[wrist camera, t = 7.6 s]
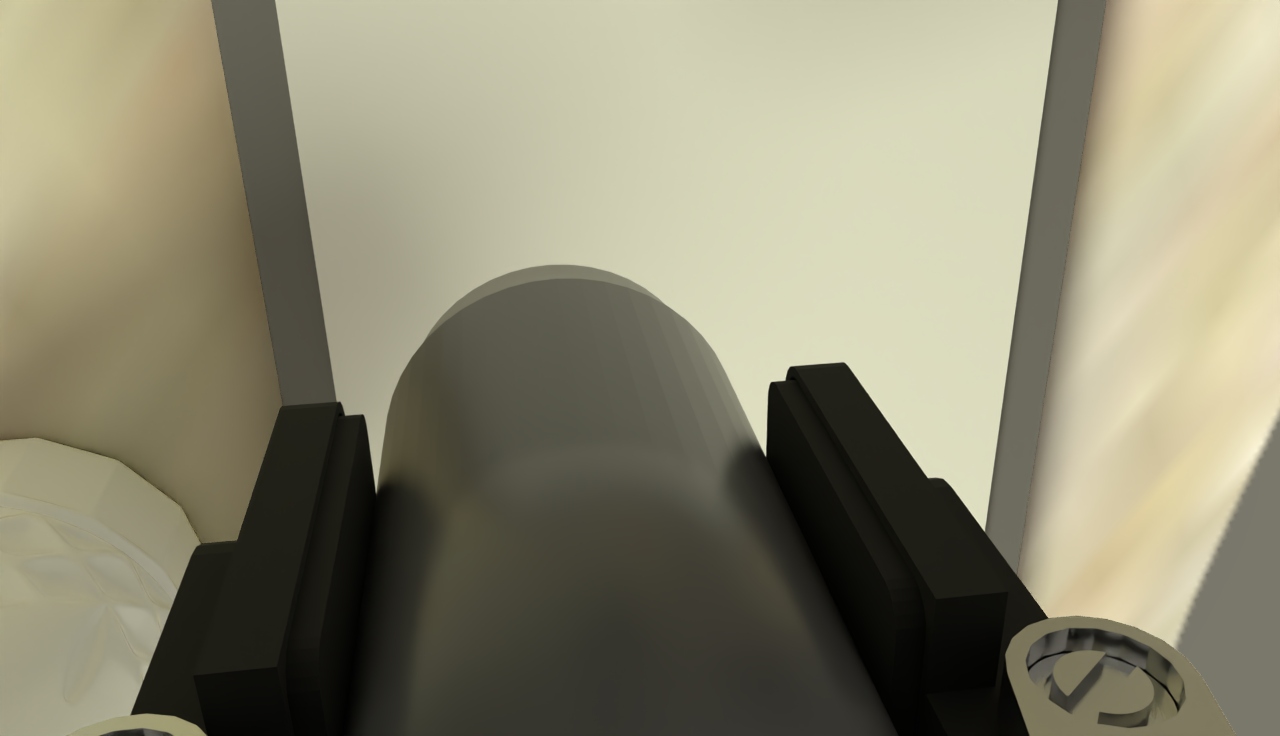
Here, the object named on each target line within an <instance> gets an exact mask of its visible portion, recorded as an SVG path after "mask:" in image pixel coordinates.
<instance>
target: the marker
mask: <svg viewBox="0 0 1280 736" xmlns="http://www.w3.org/2000/svg"><path fill="white" fill-rule="evenodd" d="M343 736H898V734H897V731H896V729H895V727H894V725H893V723H892V721H891V719H890V717H889V715H888V713H887V710H886V708H885V706H884V704H883V702H882V700H881V698H880V696H879V694H878V692H877V689H876V687H875V685H874V683H873V681H872V679H871V677H870V675H869V673H868V671H867V668H866V666H865V664H864V662H863V660H862V658H861V656H860V654H859V652H858V649H857V647H856V645H855V643H854V641H853V639H852V637H851V635H850V633H849V631H848V628H847V626H846V624H845V622H844V620H843V618H842V616H841V614H840V612H839V610H838V607H837V605H836V603H835V601H834V599H833V597H832V595H831V593H830V591H829V589H828V586H827V584H826V582H825V580H824V578H823V576H822V574H821V572H820V570H819V568H818V565H817V563H816V561H815V559H814V557H813V555H812V553H811V551H810V549H809V547H808V544H807V542H806V540H805V538H804V536H803V534H802V532H801V530H800V528H799V525H798V523H797V521H796V519H795V517H794V515H793V513H792V511H791V509H790V507H789V504H788V502H787V500H786V498H785V496H784V494H783V492H782V490H781V488H780V486H779V483H778V481H777V479H776V477H775V475H774V473H773V471H772V469H771V467H770V465H769V462H768V460H767V458H766V456H765V454H764V452H763V450H762V448H761V446H760V444H759V441H758V439H757V437H756V435H755V433H754V431H753V429H752V427H751V425H750V423H749V420H748V418H747V416H746V414H745V412H744V410H743V408H742V406H741V404H740V402H739V399H738V397H737V395H736V393H735V391H734V389H733V387H732V385H731V383H730V380H729V378H728V376H727V374H726V372H725V370H724V368H723V366H722V365H721V363H720V361H719V359H718V357H717V355H716V354H715V352H714V351H713V349H712V348H711V347H710V345H709V344H708V343H707V341H706V340H705V339H704V337H703V336H702V335H701V334H700V333H699V332H698V331H697V330H696V329H695V328H694V327H693V326H692V325H691V324H690V323H689V322H688V321H687V320H686V319H685V318H683V317H682V316H680V315H679V314H678V313H676V312H675V311H674V310H672V309H671V308H670V307H668V306H667V305H665V304H664V303H663V302H662V301H661V300H660V299H659V298H657V297H656V296H655V295H653V294H652V293H651V292H649V291H648V290H647V289H645V288H644V287H642V286H640V285H638V284H636V283H635V282H633V281H631V280H629V279H627V278H624V277H622V276H619V275H617V274H614V273H612V272H609V271H605V270H601V269H597V268H593V267H587V266H578V265H544V266H536V267H529V268H525V269H521V270H517V271H513V272H510V273H507V274H505V275H502V276H499V277H497V278H494V279H492V280H490V281H488V282H486V283H484V284H482V285H481V286H479V287H477V288H475V289H473V290H472V291H471V292H469V293H468V294H466V295H465V296H464V297H462V298H461V299H460V300H458V301H457V302H456V303H455V304H454V305H453V306H452V307H451V308H449V309H448V310H447V311H446V312H445V313H444V314H443V315H442V316H441V318H440V319H439V320H438V321H437V323H436V324H435V325H434V326H433V328H432V329H431V330H430V332H429V334H428V335H427V337H426V339H425V340H424V342H423V344H422V345H421V346H420V347H419V349H418V350H417V351H416V352H415V354H414V355H413V356H412V357H411V359H410V361H409V362H408V364H407V366H406V368H405V369H404V371H403V373H402V374H401V376H400V378H399V381H398V383H397V386H396V388H395V390H394V393H393V395H392V399H391V402H390V406H389V410H388V414H387V420H386V427H385V434H384V441H383V448H382V455H381V463H380V470H379V477H378V484H377V491H376V501H375V508H374V516H373V523H372V530H371V537H370V544H369V552H368V559H367V566H366V573H365V580H364V588H363V595H362V602H361V609H360V616H359V624H358V631H357V638H356V645H355V652H354V660H353V667H352V674H351V681H350V688H349V696H348V703H347V710H346V717H345V724H344V732H343Z"/></svg>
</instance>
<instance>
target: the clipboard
mask: <svg viewBox="0 0 1280 736" xmlns="http://www.w3.org/2000/svg"><path fill="white" fill-rule="evenodd" d="M211 1H212V7H213V13H214V18H215V24H216V30H217V35H218V41H219V47H220V52H221V58H222V64H223V69H224V75H225V80H226V86H227V92H228V97H229V103H230V109H231V114H232V120H233V126H234V131H235V137H236V143H237V148H238V154H239V159H240V165H241V171H242V176H243V182H244V188H245V193H246V199H247V205H248V210H249V216H250V221H251V227H252V233H253V238H254V244H255V250H256V255H257V261H258V267H259V272H260V278H261V284H262V289H263V295H264V300H265V306H266V312H267V317H268V323H269V329H270V334H271V340H272V346H273V351H274V357H275V363H276V368H277V374H278V379H279V385H280V391H281V396H282V402H283V406H287V405H300V404H313V403H326V402H341V404H342V406H343V409H344V413H345V416H346V415H359V414H363V415H364V417H365V420H366V425H367V431H368V438H369V445H370V453H371V460H372V467H373V474H374V482H375V489H376V491H377V484H378V477H379V470H380V463H381V455H382V448H383V441H384V434H385V427H386V420H387V414H388V410H389V406H390V402H391V399H392V395H393V393H394V390H395V388H396V386H397V383H398V381H399V378H400V376H401V374H402V373H403V371H404V369H405V368H406V366H407V364H408V362H409V361H410V359H411V357H412V356H413V355H414V354H415V352H416V351H417V350H418V349H419V347H420V346H421V345H422V344H423V342H424V340H425V339H426V337H427V335H428V334H429V332H430V330H431V329H432V328H433V326H434V325H435V324H436V323H437V321H438V320H439V319H440V318H441V316H442V315H443V314H444V313H445V312H446V311H447V310H448V309H449V308H451V307H452V306H453V305H454V304H455V303H456V302H457V301H458V300H460V299H461V298H462V297H464V296H465V295H466V294H468V293H469V292H471V291H472V290H473V289H475V288H477V287H479V286H481V285H482V284H484V283H486V282H488V281H490V280H492V279H494V278H497V277H499V276H502V275H505V274H507V273H510V272H513V271H517V270H521V269H525V268H529V267H536V266H544V265H578V266H587V267H593V268H597V269H601V270H605V271H609V272H612V273H614V274H617V275H619V276H622V277H624V278H627V279H629V280H631V281H633V282H635V283H636V284H638V285H640V286H642V287H644V288H645V289H647V290H648V291H649V292H651V293H652V294H653V295H655V296H656V297H657V298H659V299H660V300H661V301H662V302H663V303H664V304H665V305H667V306H668V307H670V308H671V309H672V310H674V311H675V312H676V313H678V314H679V315H680V316H682V317H683V318H685V319H686V320H687V321H688V322H689V323H690V324H691V325H692V326H693V327H694V328H695V329H696V330H697V331H698V332H699V333H700V334H701V335H702V336H703V337H704V339H705V340H706V341H707V343H708V344H709V345H710V347H711V348H712V349H713V351H714V352H715V354H716V355H717V357H718V359H719V361H720V363H721V365H722V366H723V368H724V370H725V372H726V374H727V376H728V378H729V380H730V383H731V385H732V387H733V389H734V391H735V393H736V395H737V397H738V399H739V402H740V404H741V406H742V408H743V410H744V412H745V414H746V416H747V418H748V420H749V423H750V425H751V427H752V429H753V431H754V433H755V435H756V437H757V439H758V441H759V444H760V446H761V448H762V450H763V452H764V454H765V456H766V439H767V405H768V390H769V385H770V383H771V382H775V381H785V379H786V375H787V371H788V369H789V367H791V366H801V365H814V364H827V363H840V362H845V363H846V364H847V365H848V366H849V368H850V369H851V371H852V372H853V373H854V375H855V376H856V378H857V379H858V380H859V382H860V383H861V385H862V386H863V387H864V389H865V390H866V392H867V393H868V394H869V396H870V397H871V399H872V400H873V402H874V403H875V404H876V406H877V407H878V409H879V410H880V411H881V413H882V414H883V416H884V417H885V418H886V420H887V421H888V423H889V424H890V425H891V427H892V428H893V430H894V431H895V433H896V434H897V435H898V437H899V438H900V440H901V441H902V442H903V444H904V445H905V447H906V448H907V449H908V451H909V452H910V454H911V455H912V456H913V458H914V459H915V461H916V462H917V463H918V465H919V466H920V468H921V469H922V471H923V472H924V473H925V475H926V476H927V478H935V477H936V478H942V479H944V480H945V481H946V482H947V483H948V484H949V485H950V486H951V487H952V488H953V489H954V491H955V492H956V494H957V495H958V496H959V498H960V499H961V500H962V502H963V503H964V504H965V506H966V507H967V508H968V510H969V511H970V513H971V514H972V515H973V517H974V518H975V519H976V521H977V522H978V523H979V525H980V526H981V527H982V529H983V530H984V532H985V533H986V534H987V536H988V537H989V538H990V540H991V541H992V542H993V544H994V545H995V546H996V548H997V549H998V551H999V552H1000V553H1001V555H1002V556H1003V557H1004V559H1005V560H1006V561H1007V563H1008V564H1009V565H1010V567H1011V568H1012V570H1013V571H1014V572H1015V574H1016V575H1017V570H1018V564H1019V558H1020V551H1021V545H1022V538H1023V532H1024V526H1025V519H1026V513H1027V506H1028V500H1029V493H1030V487H1031V481H1032V474H1033V468H1034V461H1035V455H1036V449H1037V442H1038V436H1039V429H1040V423H1041V417H1042V410H1043V404H1044V397H1045V391H1046V384H1047V378H1048V372H1049V365H1050V359H1051V352H1052V346H1053V340H1054V333H1055V327H1056V320H1057V314H1058V307H1059V301H1060V295H1061V288H1062V282H1063V275H1064V269H1065V263H1066V256H1067V250H1068V243H1069V237H1070V231H1071V224H1072V218H1073V211H1074V205H1075V198H1076V192H1077V186H1078V179H1079V173H1080V166H1081V160H1082V154H1083V147H1084V141H1085V134H1086V128H1087V121H1088V115H1089V109H1090V102H1091V96H1092V89H1093V83H1094V77H1095V70H1096V64H1097V57H1098V51H1099V45H1100V38H1101V32H1102V25H1103V19H1104V12H1105V6H1106V0H211Z"/></svg>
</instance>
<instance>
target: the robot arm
mask: <svg viewBox="0 0 1280 736" xmlns="http://www.w3.org/2000/svg"><path fill="white" fill-rule="evenodd" d="M766 458H767V460H768V462H769V465H770V467H771V469H772V471H773V473H774V475H775V477H776V479H777V481H778V483H779V486H780V488H781V490H782V492H783V494H784V496H785V498H786V500H787V502H788V504H789V507H790V509H791V511H792V513H793V515H794V517H795V519H796V521H797V523H798V525H799V528H800V530H801V532H802V534H803V536H804V538H805V540H806V542H807V544H808V547H809V549H810V551H811V553H812V555H813V557H814V559H815V561H816V563H817V565H818V568H819V570H820V572H821V574H822V576H823V578H824V580H825V582H826V584H827V586H828V589H829V591H830V593H831V595H832V597H833V599H834V601H835V603H836V605H837V607H838V610H839V612H840V614H841V616H842V618H843V620H844V622H845V624H846V626H847V628H848V631H849V633H850V635H851V637H852V639H853V641H854V643H855V645H856V647H857V649H858V652H859V654H860V656H861V658H862V660H863V662H864V664H865V666H866V668H867V671H868V673H869V675H870V677H871V679H872V681H873V683H874V685H875V687H876V689H877V692H878V694H879V696H880V698H881V700H882V702H883V704H884V706H885V708H886V710H887V713H888V715H889V717H890V719H891V721H892V723H893V725H894V727H895V729H896V731H897V734H898V736H1236V734H1235V732H1234V731H1233V729H1232V727H1231V726H1230V724H1229V722H1228V720H1227V719H1226V717H1225V715H1224V714H1223V712H1222V710H1221V708H1220V707H1219V705H1218V703H1217V702H1216V700H1215V698H1214V697H1213V695H1212V693H1211V691H1210V690H1209V688H1208V686H1207V685H1206V683H1205V681H1204V679H1203V678H1202V676H1201V675H1200V674H1199V672H1198V671H1197V670H1196V669H1195V668H1194V666H1193V665H1192V664H1191V663H1190V661H1189V660H1188V659H1187V658H1186V657H1185V656H1184V655H1182V654H1181V653H1180V652H1178V651H1177V650H1176V649H1174V648H1173V647H1171V646H1170V645H1169V644H1167V643H1166V642H1165V641H1163V640H1161V639H1159V638H1157V637H1155V636H1153V635H1151V634H1149V633H1147V632H1145V631H1142V630H1140V629H1138V628H1136V627H1133V626H1129V625H1126V624H1122V623H1119V622H1115V621H1112V620H1108V619H1103V618H1093V617H1084V616H1068V617H1056V618H1048V617H1047V616H1046V614H1045V613H1044V612H1043V610H1042V609H1041V608H1040V606H1039V605H1038V603H1037V602H1036V601H1035V599H1034V598H1033V597H1032V595H1031V594H1030V593H1029V591H1028V590H1027V589H1026V587H1025V586H1024V584H1023V583H1022V582H1021V580H1020V579H1019V578H1018V576H1017V575H1016V574H1015V572H1014V571H1013V570H1012V568H1011V567H1010V565H1009V564H1008V563H1007V561H1006V560H1005V559H1004V557H1003V556H1002V555H1001V553H1000V552H999V551H998V549H997V548H996V546H995V545H994V544H993V542H992V541H991V540H990V538H989V537H988V536H987V534H986V533H985V532H984V530H983V529H982V527H981V526H980V525H979V523H978V522H977V521H976V519H975V518H974V517H973V515H972V514H971V513H970V511H969V510H968V508H967V507H966V506H965V504H964V503H963V502H962V500H961V499H960V498H959V496H958V495H957V494H956V492H955V491H954V489H953V488H952V487H951V486H950V485H949V484H948V483H947V482H946V481H945V480H944V479H942V478H936V477H935V478H927V476H926V475H925V473H924V472H923V471H922V469H921V468H920V466H919V465H918V463H917V462H916V461H915V459H914V458H913V456H912V455H911V454H910V452H909V451H908V449H907V448H906V447H905V445H904V444H903V442H902V441H901V440H900V438H899V437H898V435H897V434H896V433H895V431H894V430H893V428H892V427H891V425H890V424H889V423H888V421H887V420H886V418H885V417H884V416H883V414H882V413H881V411H880V410H879V409H878V407H877V406H876V404H875V403H874V402H873V400H872V399H871V397H870V396H869V394H868V393H867V392H866V390H865V389H864V387H863V386H862V385H861V383H860V382H859V380H858V379H857V378H856V376H855V375H854V373H853V372H852V371H851V369H850V368H849V366H848V365H847V364H846V363H845V362H840V363H827V364H814V365H801V366H791V367H789V369H788V371H787V375H786V379H785V381H775V382H771V383H770V385H769V390H768V405H767V439H766ZM375 501H376V489H375V482H374V474H373V467H372V460H371V453H370V445H369V438H368V431H367V425H366V420H365V417H364V415H363V414H359V415H346V416H345V413H344V409H343V406H342V404H341V402H326V403H313V404H300V405H287V406H282V407H281V409H280V411H279V414H278V417H277V420H276V423H275V426H274V429H273V432H272V435H271V438H270V441H269V444H268V447H267V451H266V454H265V457H264V460H263V463H262V466H261V469H260V472H259V475H258V478H257V481H256V484H255V487H254V490H253V493H252V496H251V500H250V503H249V506H248V509H247V512H246V515H245V518H244V521H243V524H242V527H241V530H240V533H239V536H238V539H237V541H226V542H215V543H204V544H200V545H198V546H196V548H195V550H194V551H193V553H192V555H191V557H190V560H189V563H188V565H187V568H186V570H185V573H184V576H183V578H182V581H181V583H180V586H179V589H178V591H177V594H176V597H175V599H174V602H173V604H172V607H171V610H170V612H169V615H168V617H167V620H166V623H165V625H164V628H163V630H162V633H161V636H160V638H159V641H158V644H157V646H156V649H155V651H154V654H153V657H152V659H151V662H150V664H149V667H148V670H147V672H146V675H145V677H144V680H143V683H142V685H141V688H140V691H139V693H138V696H137V698H136V701H135V704H134V706H133V709H132V711H131V714H130V716H123V717H115V718H111V719H108V720H105V721H102V722H99V723H95V724H92V725H89V726H86V727H83V728H80V729H78V730H76V731H74V732H72V733H70V734H68V735H67V736H343V732H344V724H345V717H346V710H347V703H348V696H349V688H350V681H351V674H352V667H353V660H354V652H355V645H356V638H357V631H358V624H359V616H360V609H361V602H362V595H363V588H364V580H365V573H366V566H367V559H368V552H369V544H370V537H371V530H372V523H373V516H374V508H375Z"/></svg>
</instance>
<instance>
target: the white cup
mask: <svg viewBox="0 0 1280 736" xmlns="http://www.w3.org/2000/svg"><path fill="white" fill-rule="evenodd" d="M200 544H201V543H200V541H199V539H198V538H197V536H196V534H195V532H194V530H193V528H192V526H191V524H190V523H189V521H188V519H187V517H186V515H185V513H184V511H183V509H182V508H181V507H180V506H179V505H178V504H177V503H176V502H174V501H173V500H171V499H170V498H169V497H167V496H166V495H165V494H163V493H162V492H161V491H159V490H158V489H157V488H155V487H154V486H153V485H151V484H150V483H149V482H147V481H146V480H145V479H143V478H142V477H141V476H139V475H138V474H136V473H135V472H134V471H132V470H131V469H130V468H128V467H127V466H126V465H124V464H123V463H122V462H120V461H119V460H116V459H112V458H109V457H105V456H102V455H98V454H95V453H91V452H87V451H84V450H80V449H77V448H73V447H69V446H66V445H62V444H59V443H55V442H51V441H48V440H44V439H41V438H25V439H14V440H2V441H0V736H67V735H68V734H70V733H72V732H74V731H76V730H78V729H80V728H83V727H86V726H89V725H92V724H95V723H99V722H102V721H105V720H108V719H111V718H115V717H123V716H130V714H131V711H132V709H133V706H134V704H135V701H136V698H137V696H138V693H139V691H140V688H141V685H142V683H143V680H144V677H145V675H146V672H147V670H148V667H149V664H150V662H151V659H152V657H153V654H154V651H155V649H156V646H157V644H158V641H159V638H160V636H161V633H162V630H163V628H164V625H165V623H166V620H167V617H168V615H169V612H170V610H171V607H172V604H173V602H174V599H175V597H176V594H177V591H178V589H179V586H180V583H181V581H182V578H183V576H184V573H185V570H186V568H187V565H188V563H189V560H190V557H191V555H192V553H193V551H194V550H195V548H196V546H198V545H200Z"/></svg>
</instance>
